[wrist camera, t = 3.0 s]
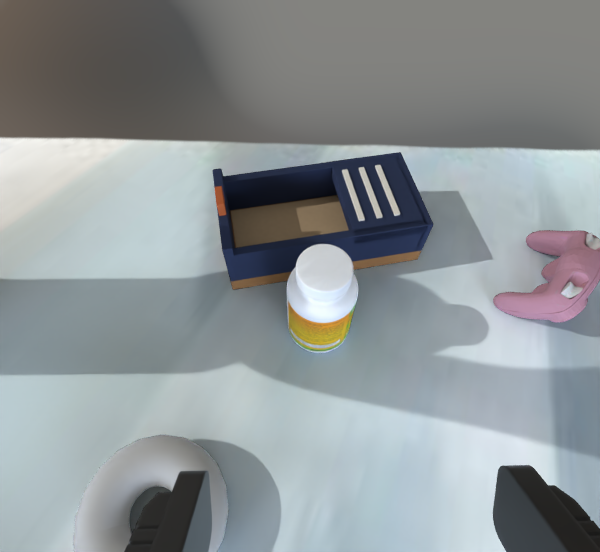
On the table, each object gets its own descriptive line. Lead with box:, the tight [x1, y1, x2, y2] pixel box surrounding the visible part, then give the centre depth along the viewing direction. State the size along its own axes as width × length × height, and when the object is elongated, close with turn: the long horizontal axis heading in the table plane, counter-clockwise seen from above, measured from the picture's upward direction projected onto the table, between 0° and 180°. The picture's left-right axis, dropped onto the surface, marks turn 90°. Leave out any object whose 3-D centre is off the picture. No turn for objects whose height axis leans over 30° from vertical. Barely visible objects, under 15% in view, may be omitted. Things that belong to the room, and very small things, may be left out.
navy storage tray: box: [213, 152, 433, 290], centre depth 38 cm, size 18×9×8 cm, turn 101°
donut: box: [73, 435, 229, 552], centre depth 28 cm, size 10×3×10 cm
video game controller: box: [493, 230, 600, 322], centre depth 37 cm, size 10×5×7 cm, turn 144°
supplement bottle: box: [287, 244, 358, 353], centre depth 32 cm, size 5×5×10 cm
